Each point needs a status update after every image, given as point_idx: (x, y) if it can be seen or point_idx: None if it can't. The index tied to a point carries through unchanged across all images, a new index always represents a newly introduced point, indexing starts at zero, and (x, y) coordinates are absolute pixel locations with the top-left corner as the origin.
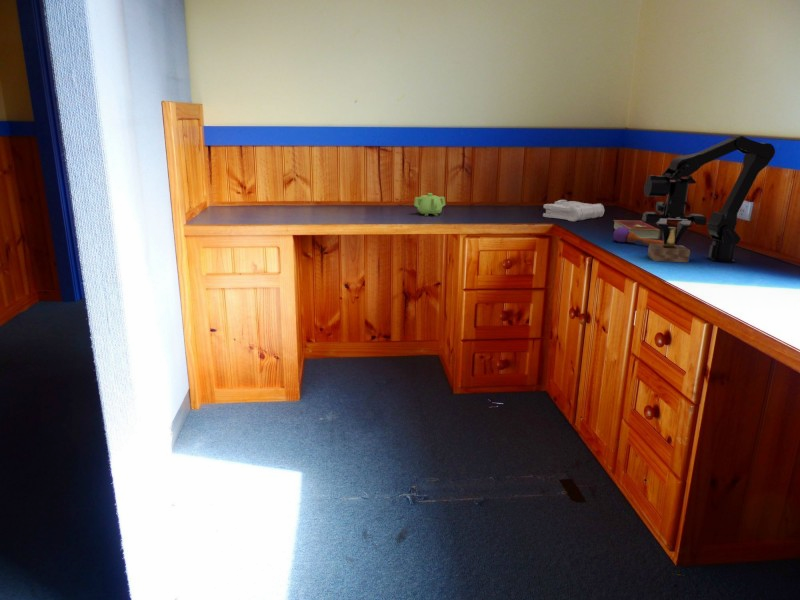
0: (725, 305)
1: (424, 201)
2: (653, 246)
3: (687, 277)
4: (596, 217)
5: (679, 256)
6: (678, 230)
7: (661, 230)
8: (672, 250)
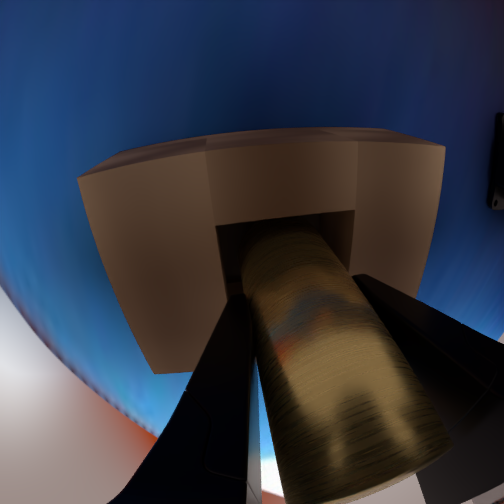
0: (279, 486)
1: None
2: (130, 309)
3: (269, 444)
4: None
5: None
6: None
7: (173, 452)
8: None
